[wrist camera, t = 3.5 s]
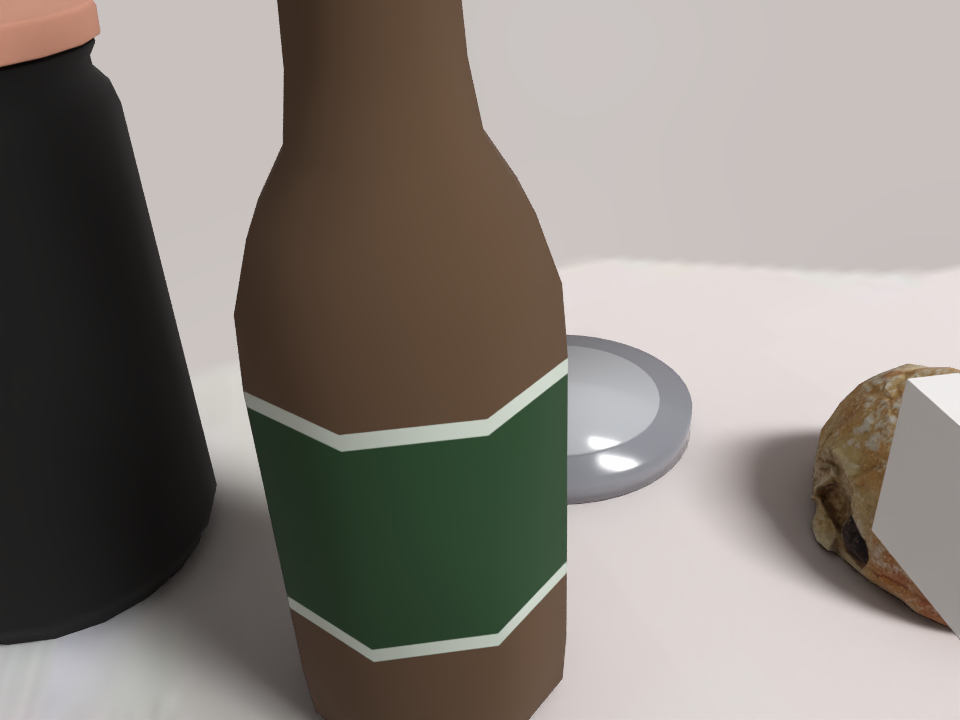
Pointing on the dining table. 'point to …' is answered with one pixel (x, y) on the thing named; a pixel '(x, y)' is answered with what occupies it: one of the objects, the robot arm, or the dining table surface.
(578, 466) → the dish
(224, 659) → the dining table surface
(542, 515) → the beer bottle
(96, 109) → the coffee jar
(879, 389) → the bread roll
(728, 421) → the dining table surface
